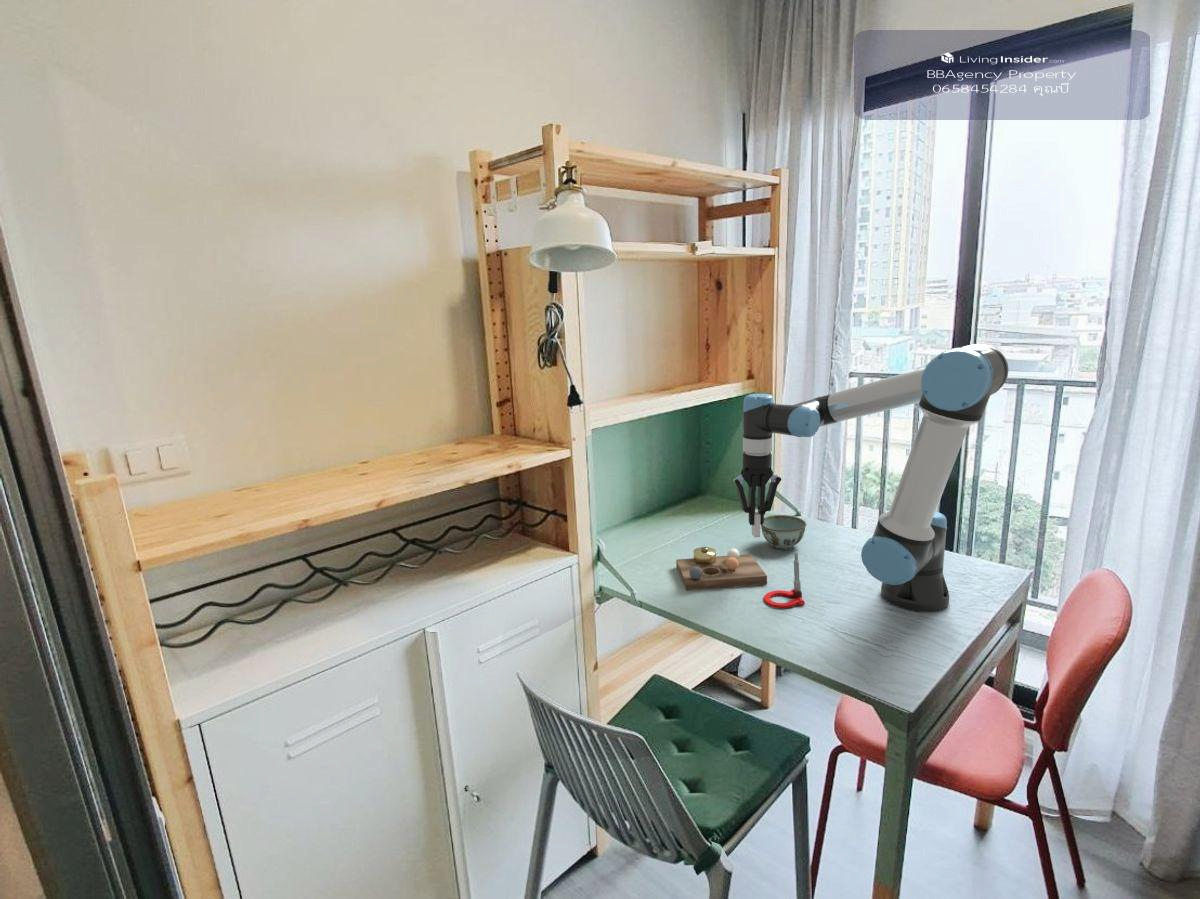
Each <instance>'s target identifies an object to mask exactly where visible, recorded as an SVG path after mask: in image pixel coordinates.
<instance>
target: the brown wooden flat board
mask: <svg viewBox="0 0 1200 899" xmlns="http://www.w3.org/2000/svg"><path fill="white" fill-rule="evenodd" d="M727 559H728V556H727V555H719V556H717V555H716V561H715V562H714V563H711V564H700V563H697V562H695V561H694V557H692V558H690V557H689V558H679V559H678V558H677V559H676V561H675V563H676V564H675V565H676V569H677V572H678V574H679V576H680V579H681V582H682V584H683V586H684V588H685V591H697V590H708V589H709V590H710V589H711V590H713V589H724V588H737V587H749V586H750V587H751V586H762V585H763V586H764V585H767V584H768V575H767V574H766V572H764V570H763V568H762V567H761V566H760V565H759V564H758V562H757V561H756V559H755V558H754V557H753V555H752V554H751V553H748V554H747V553H745V554H740V556H739V558H738V563H739V565H738V568H737V569H735V570H730V569H728V568H727V567H726V560H727ZM694 566H698V567H700V568H701V570H702V576H701V578H699V579H693V578H691V576H690V574H689V571H690V569H691V568H692V567H694Z"/></svg>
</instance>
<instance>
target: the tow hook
mask: <svg viewBox="0 0 1200 899" xmlns="http://www.w3.org/2000/svg"><path fill="white" fill-rule="evenodd" d="M793 554H794V560H793V574H794V575H793V576H794V580H793V589H791V590H779V589H778V590H771V591H769V592H767V593H765V594H764V596H763V602H764V603H765V604H766V605H767V606H769V607H773V608H775V609H790V608H792V607H795V606H797V605H800V606H801V607H802V606H804V605H805V604H806V602H805V600H804V599H803V591H801V590H802V589H801V588H802V587H801V586H802V585H801V580H800V562H799V558H798V557H799V555H798V554H799V553H798V552H794V553H793ZM775 596H783V597H785V596H786V597H788V598H791V600H790V601H788V602H776V601H774V600H772V598H773V597H775Z"/></svg>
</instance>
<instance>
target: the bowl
mask: <svg viewBox="0 0 1200 899" xmlns="http://www.w3.org/2000/svg"><path fill="white" fill-rule="evenodd" d="M806 527H807V522H806V521H805V520H804V519H803V518H800V517H797V516H792V515H785V514H784V515H783V514H778V515H776V514H775V515H769V516H766V517H765V516H764V523H763V524H762V525H760V529H761V532H762V536H763V537H764V539H765V541H767V542H768V544H770V545H771V546H772V547H773V548H774V549H776V550H780V551H790V550H793V547H794V546H796V545H797V544H799V543H800V542H801V541H802V539H803V537H804V535H805V530H806Z"/></svg>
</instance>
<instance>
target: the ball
mask: <svg viewBox="0 0 1200 899" xmlns="http://www.w3.org/2000/svg"><path fill="white" fill-rule="evenodd" d="M738 565H739V563H738V560H737V559H736V558H734V557H730V558H728V559H727V560H726V567H727V568H728V569H730V570H735V569H737V568H738Z"/></svg>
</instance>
